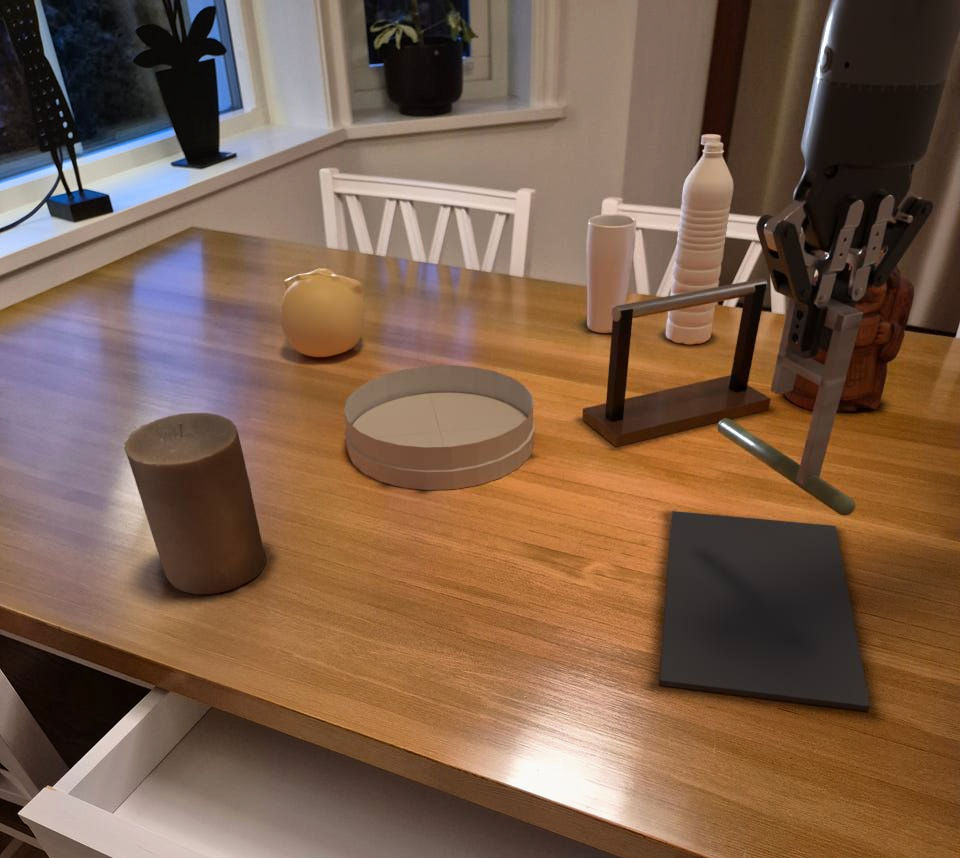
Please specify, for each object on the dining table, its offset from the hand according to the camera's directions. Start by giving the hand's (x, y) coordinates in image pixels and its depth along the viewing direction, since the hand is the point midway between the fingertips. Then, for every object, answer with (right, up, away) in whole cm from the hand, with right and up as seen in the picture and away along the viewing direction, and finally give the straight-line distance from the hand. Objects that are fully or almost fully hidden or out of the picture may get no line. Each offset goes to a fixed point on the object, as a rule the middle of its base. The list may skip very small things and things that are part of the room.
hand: (814, 351), depth 63 cm
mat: (0, -18, +15) cm, 23 cm away
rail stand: (0, +7, +43) cm, 44 cm away
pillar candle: (-50, -14, +21) cm, 56 cm away
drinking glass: (-6, +26, +66) cm, 71 cm away
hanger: (0, -7, +6) cm, 10 cm away
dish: (-29, +2, +39) cm, 49 cm away
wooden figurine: (+20, +9, +45) cm, 50 cm away
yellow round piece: (-47, +21, +62) cm, 80 cm away
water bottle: (+6, +24, +64) cm, 68 cm away
